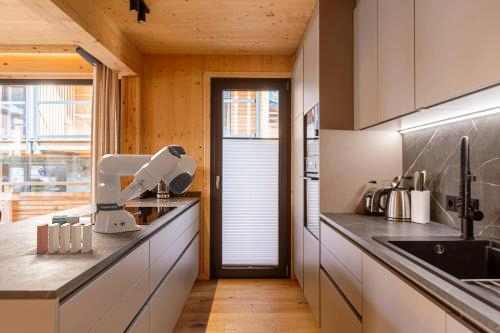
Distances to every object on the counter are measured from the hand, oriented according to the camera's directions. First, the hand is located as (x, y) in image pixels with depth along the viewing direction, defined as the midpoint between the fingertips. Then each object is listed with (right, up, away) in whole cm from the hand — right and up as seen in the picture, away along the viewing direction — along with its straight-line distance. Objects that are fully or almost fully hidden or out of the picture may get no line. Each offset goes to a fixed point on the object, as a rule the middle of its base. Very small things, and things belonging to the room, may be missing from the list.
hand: (119, 204), depth 126 cm
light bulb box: (-32, -18, +20) cm, 42 cm away
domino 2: (-23, -17, -3) cm, 29 cm away
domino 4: (-16, -17, -2) cm, 23 cm away
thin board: (-20, -18, -2) cm, 27 cm away
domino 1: (-27, -17, -3) cm, 32 cm away
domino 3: (-20, -17, -2) cm, 26 cm away
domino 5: (-12, -17, -1) cm, 21 cm away
